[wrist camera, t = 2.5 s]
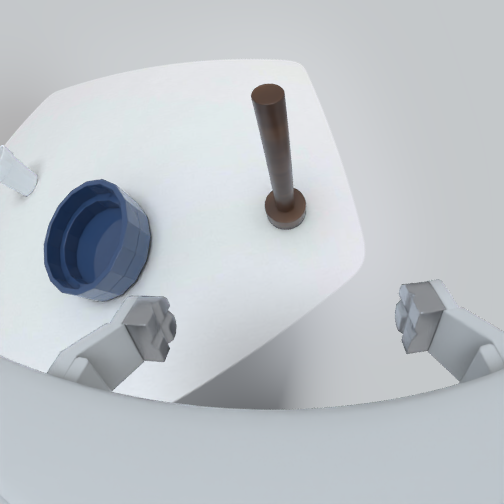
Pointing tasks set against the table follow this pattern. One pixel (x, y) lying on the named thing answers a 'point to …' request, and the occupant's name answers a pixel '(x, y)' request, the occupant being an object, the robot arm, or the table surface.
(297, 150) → the table surface
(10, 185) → the cup
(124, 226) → the bowl
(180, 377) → the table surface
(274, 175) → the stick
